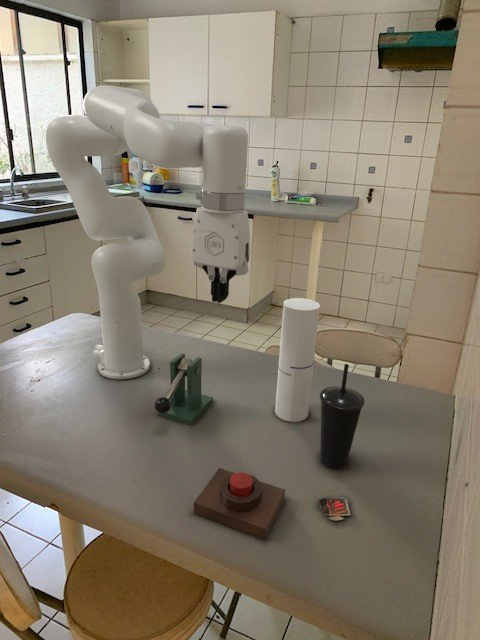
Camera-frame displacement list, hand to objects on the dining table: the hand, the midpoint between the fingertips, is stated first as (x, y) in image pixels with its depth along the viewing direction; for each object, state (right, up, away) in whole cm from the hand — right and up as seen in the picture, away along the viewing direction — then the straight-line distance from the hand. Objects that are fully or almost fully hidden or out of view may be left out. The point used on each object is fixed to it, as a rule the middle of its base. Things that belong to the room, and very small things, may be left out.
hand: (219, 300), depth 88 cm
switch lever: (-9, -18, +7) cm, 21 cm away
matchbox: (+19, -34, -13) cm, 42 cm away
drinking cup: (+21, -30, -2) cm, 37 cm away
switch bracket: (-8, -23, +12) cm, 27 cm away
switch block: (+4, -34, -14) cm, 37 cm away
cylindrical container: (+15, -24, +13) cm, 31 cm away
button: (+4, -30, -15) cm, 34 cm away
